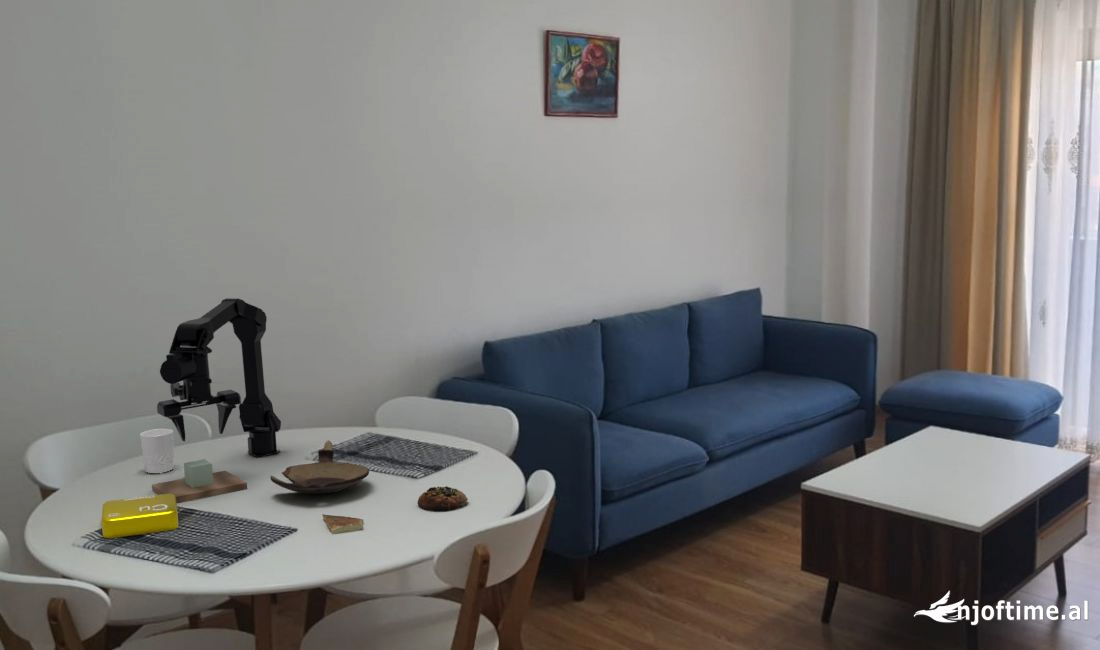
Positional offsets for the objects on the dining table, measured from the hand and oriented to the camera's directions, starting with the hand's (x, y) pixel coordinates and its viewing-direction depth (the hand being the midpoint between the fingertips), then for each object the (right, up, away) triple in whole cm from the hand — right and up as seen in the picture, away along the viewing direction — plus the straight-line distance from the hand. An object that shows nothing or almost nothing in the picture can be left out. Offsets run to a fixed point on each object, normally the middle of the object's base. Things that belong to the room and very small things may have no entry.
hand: (202, 437), depth 257 cm
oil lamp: (+31, -12, -5) cm, 34 cm away
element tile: (-4, -16, -28) cm, 33 cm away
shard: (+40, -16, -34) cm, 54 cm away
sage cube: (+1, -11, -5) cm, 12 cm away
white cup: (-15, -10, +13) cm, 23 cm away
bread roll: (+60, -13, -20) cm, 65 cm away
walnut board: (+1, -12, -4) cm, 13 cm away
